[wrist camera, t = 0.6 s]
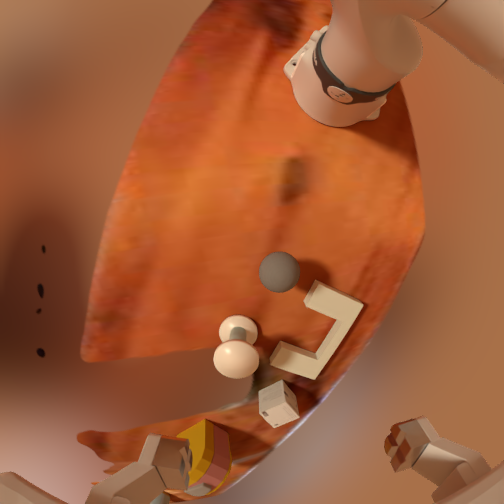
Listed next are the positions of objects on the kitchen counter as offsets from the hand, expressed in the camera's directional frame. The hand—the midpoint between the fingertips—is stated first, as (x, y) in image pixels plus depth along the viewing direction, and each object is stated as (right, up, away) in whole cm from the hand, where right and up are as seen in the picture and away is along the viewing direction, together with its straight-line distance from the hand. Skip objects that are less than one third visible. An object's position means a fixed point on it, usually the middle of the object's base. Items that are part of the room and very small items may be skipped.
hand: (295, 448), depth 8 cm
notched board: (+10, -7, +41) cm, 43 cm away
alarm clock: (-14, -38, +48) cm, 63 cm away
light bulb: (+2, +6, +39) cm, 39 cm away
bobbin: (-4, -7, +41) cm, 42 cm away
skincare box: (+4, -23, +45) cm, 50 cm away
